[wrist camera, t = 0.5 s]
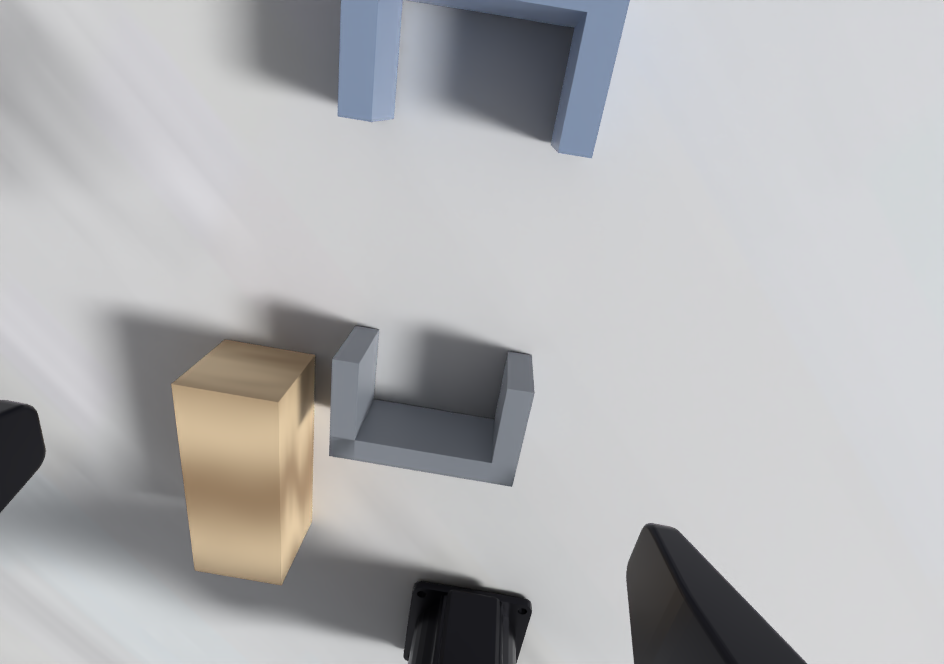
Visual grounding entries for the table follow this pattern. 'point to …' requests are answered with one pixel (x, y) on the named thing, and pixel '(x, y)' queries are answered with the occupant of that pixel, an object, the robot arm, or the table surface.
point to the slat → (247, 458)
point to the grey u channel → (425, 421)
